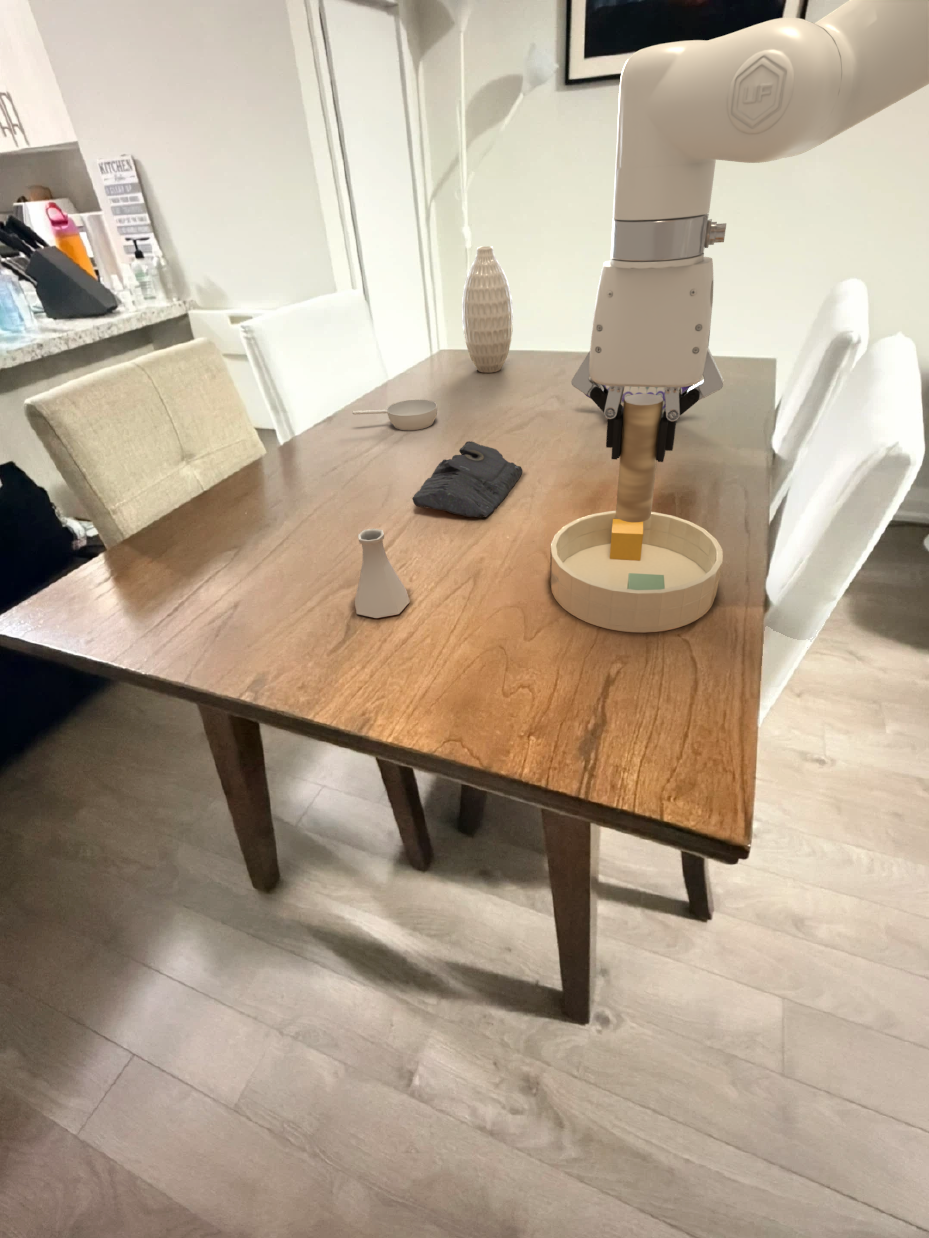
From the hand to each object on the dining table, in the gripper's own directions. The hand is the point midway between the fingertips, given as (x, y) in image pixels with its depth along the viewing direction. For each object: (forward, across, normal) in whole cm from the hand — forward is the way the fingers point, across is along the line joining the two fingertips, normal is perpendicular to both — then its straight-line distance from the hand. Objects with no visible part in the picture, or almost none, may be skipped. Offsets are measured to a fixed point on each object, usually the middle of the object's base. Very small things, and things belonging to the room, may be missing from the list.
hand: (638, 453), depth 64 cm
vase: (+20, +49, -105) cm, 118 cm away
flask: (+21, +30, +3) cm, 37 cm away
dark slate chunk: (+21, +31, -32) cm, 49 cm away
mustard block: (+20, +2, -15) cm, 25 cm away
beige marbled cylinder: (+7, 0, 0) cm, 7 cm away
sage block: (+20, -2, -2) cm, 20 cm away
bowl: (+21, 0, -9) cm, 23 cm away
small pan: (+21, +56, -61) cm, 85 cm away
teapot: (+21, +7, -73) cm, 76 cm away
